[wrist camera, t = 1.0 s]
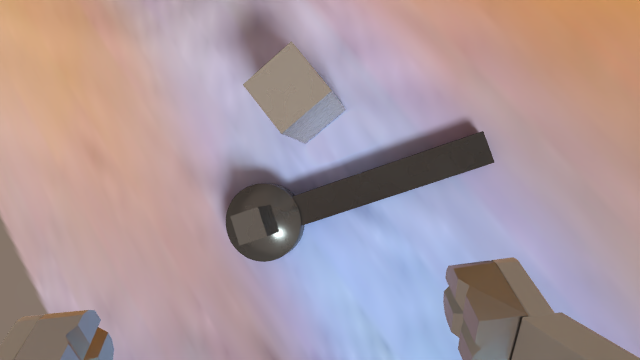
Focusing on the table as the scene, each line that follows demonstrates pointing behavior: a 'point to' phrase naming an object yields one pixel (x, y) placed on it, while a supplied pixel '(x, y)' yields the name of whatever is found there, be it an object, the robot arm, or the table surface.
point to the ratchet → (339, 196)
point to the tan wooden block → (294, 95)
